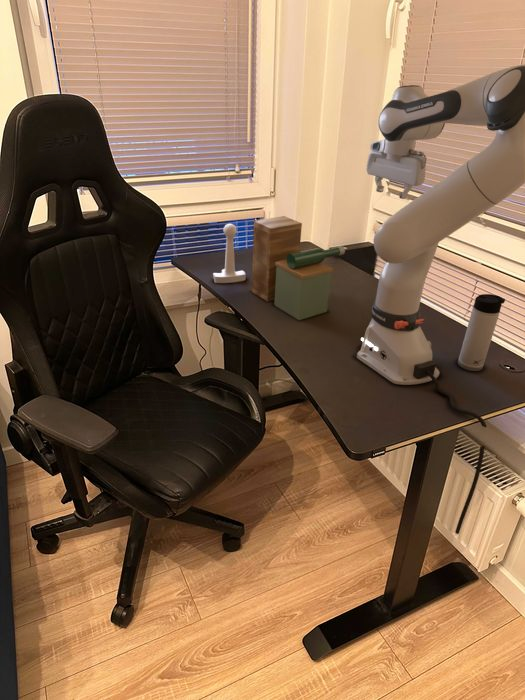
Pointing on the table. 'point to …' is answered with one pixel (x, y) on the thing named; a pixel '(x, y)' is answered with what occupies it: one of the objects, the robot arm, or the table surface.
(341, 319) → the table surface
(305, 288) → the block
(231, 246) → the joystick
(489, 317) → the travel mug
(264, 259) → the shelf
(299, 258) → the bottle
